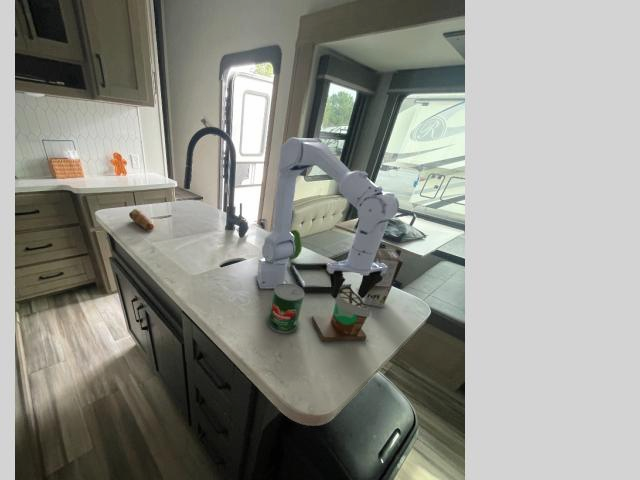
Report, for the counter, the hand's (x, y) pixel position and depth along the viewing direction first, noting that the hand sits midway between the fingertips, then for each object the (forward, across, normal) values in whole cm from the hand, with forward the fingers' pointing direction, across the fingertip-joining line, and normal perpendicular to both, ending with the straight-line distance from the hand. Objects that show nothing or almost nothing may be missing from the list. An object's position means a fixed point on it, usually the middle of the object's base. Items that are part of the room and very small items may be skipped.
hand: (347, 296), depth 70 cm
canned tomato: (+10, -16, +1) cm, 19 cm away
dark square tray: (+10, +2, +26) cm, 28 cm away
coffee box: (+10, +18, +14) cm, 25 cm away
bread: (+11, -67, +77) cm, 103 cm away
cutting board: (+10, 0, -2) cm, 10 cm away
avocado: (+4, -3, +43) cm, 43 cm away
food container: (+9, 0, -2) cm, 9 cm away
